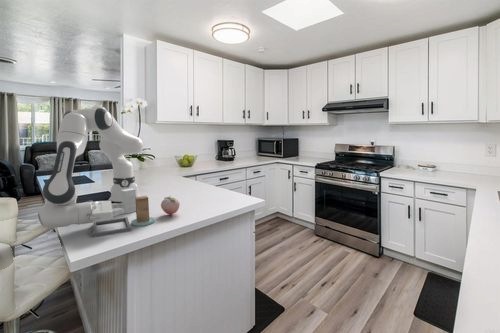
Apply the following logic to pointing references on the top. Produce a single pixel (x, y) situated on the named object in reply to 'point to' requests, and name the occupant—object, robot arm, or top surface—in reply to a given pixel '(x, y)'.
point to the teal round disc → (135, 223)
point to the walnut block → (142, 209)
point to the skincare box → (128, 200)
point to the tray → (111, 230)
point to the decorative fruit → (170, 205)
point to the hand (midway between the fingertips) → (123, 208)
